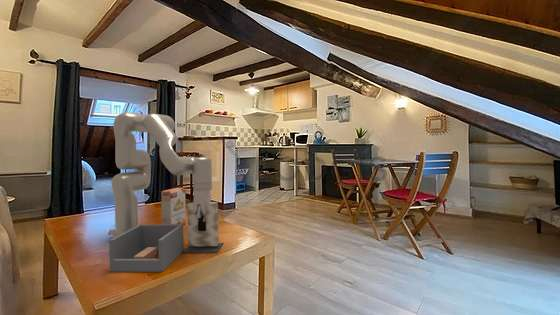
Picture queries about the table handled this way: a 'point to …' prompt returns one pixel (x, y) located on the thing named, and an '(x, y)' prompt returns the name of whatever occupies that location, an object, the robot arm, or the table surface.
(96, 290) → the table surface
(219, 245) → the mat
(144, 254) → the upper offcut
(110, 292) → the table surface
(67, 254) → the table surface
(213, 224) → the tall board
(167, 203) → the cracker box
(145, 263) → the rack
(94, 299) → the table surface
